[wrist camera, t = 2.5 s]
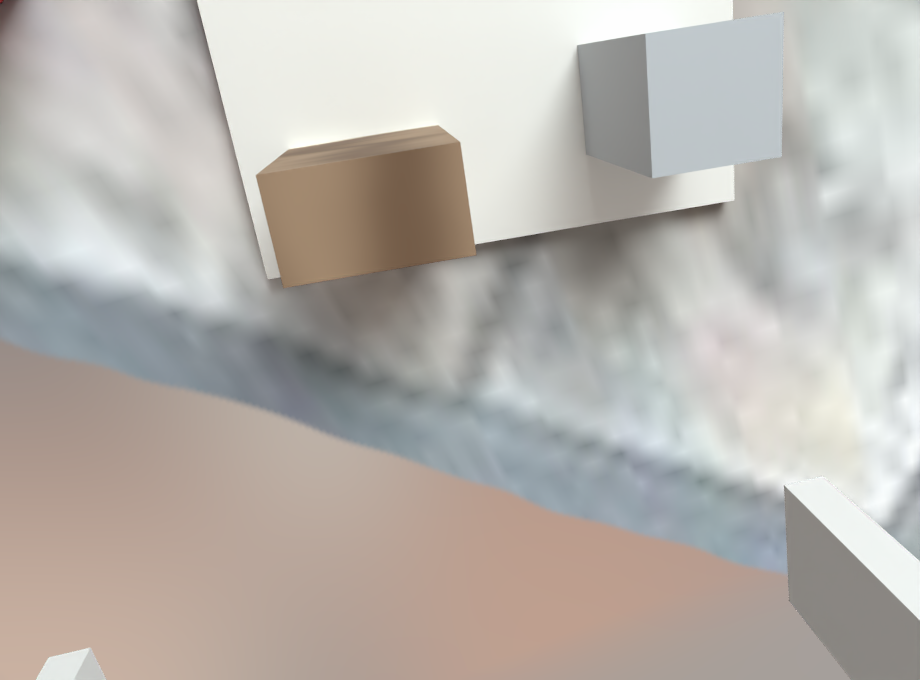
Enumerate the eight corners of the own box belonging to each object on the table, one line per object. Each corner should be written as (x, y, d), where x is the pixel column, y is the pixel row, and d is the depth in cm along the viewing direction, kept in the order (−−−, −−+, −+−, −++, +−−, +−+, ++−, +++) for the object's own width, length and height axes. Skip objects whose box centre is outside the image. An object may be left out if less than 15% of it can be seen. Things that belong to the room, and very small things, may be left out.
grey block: (586, 154, 35) (652, 178, 26) (577, 45, 33) (645, 33, 25) (684, 138, 35) (781, 156, 27) (681, 28, 33) (783, 11, 25)
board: (270, 274, 36) (267, 279, 35) (181, -83, 30) (174, -88, 30) (725, 197, 37) (734, 200, 36) (721, -160, 32) (731, -168, 31)
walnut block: (308, 231, 35) (283, 288, 25) (289, 148, 33) (255, 175, 24) (450, 208, 35) (476, 255, 26) (437, 124, 34) (460, 142, 24)
